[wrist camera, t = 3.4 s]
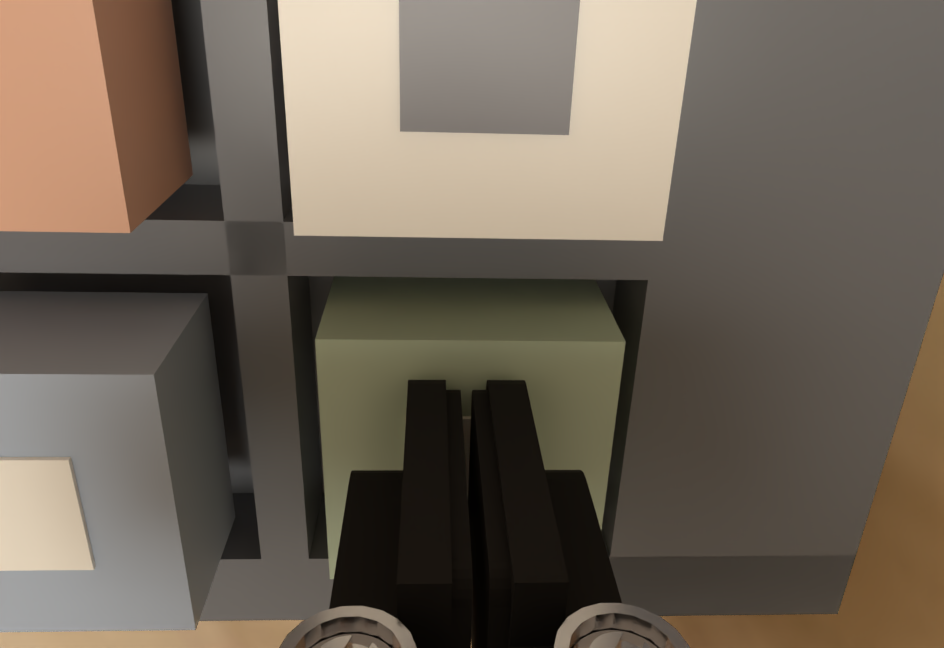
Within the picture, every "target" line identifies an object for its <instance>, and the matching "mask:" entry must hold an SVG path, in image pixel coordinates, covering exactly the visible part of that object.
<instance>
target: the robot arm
mask: <svg viewBox="0 0 944 648" xmlns="http://www.w3.org/2000/svg"><path fill="white" fill-rule="evenodd" d="M471 644H472V648H690V647H689V645H688V644H687V643H686V641H685V640H684V639H683V637H682V636H681V635H680V633H679V632H678V631H677V630H676V629H675V628H674V627H673V626H671V625H670V624H669V623H668V622H666V621H665V620H664V619H662V618H661V617H660V616H658V615H656V614H653V613H651V612H649V611H647V610H645V609H643V608H641V607H636V606H632V605H627V604H623V603H622V601H621V597H620V594H619V590H618V587H617V583H616V580H615V577H614V573H613V570H612V566H611V563H610V559H609V556H608V552H607V549H606V546H605V542H604V539H603V535H602V532H601V528H600V525H599V521H598V518H597V515H596V511H595V508H594V504H593V501H592V497H591V494H590V490H589V487H588V484H587V480H586V477H585V475H584V472H583V471H581V470H545V469H544V464H543V460H542V455H541V450H540V446H539V441H538V436H537V432H536V427H535V422H534V418H533V413H532V409H531V404H530V399H529V395H528V390H527V385H526V382H525V380H487V383H486V390H472V400H471V428H470V456H469V485H468V495H467V479H466V464H465V449H464V433H463V418H462V402H461V390H446V380H408V389H407V407H406V425H405V443H404V461H403V470H352V471H351V473H350V478H349V484H348V490H347V497H346V503H345V510H344V516H343V523H342V529H341V535H340V542H339V548H338V555H337V561H336V568H335V574H334V580H333V587H332V593H331V600H330V606H329V610H325V611H321V612H319V613H317V614H315V615H313V616H311V617H310V618H308V619H306V620H304V621H302V622H301V623H300V624H299V625H298V626H297V627H295V628H294V629H293V630H292V631H291V632H290V633H289V634H288V635H287V636H286V638H285V639H284V641H283V643H282V644H281V646H280V647H279V648H471Z"/></svg>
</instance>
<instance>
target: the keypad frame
mask: <svg viewBox="0 0 944 648" xmlns="http://www.w3.org/2000/svg"><path fill="white" fill-rule="evenodd" d="M171 2H172V10H173V19H174V27H175V35H176V43H177V51H178V59H179V67H180V75H181V83H182V91H183V99H184V107H185V115H186V123H187V131H188V139H189V147H190V155H191V163H192V172H193V175H192V176H191V177H190V178H189V179H188V180H187V181H186V182H185V183H184V184H183V185H182V186H181V187H179V188H178V189H177V190H176V191H175V192H174V193H173V194H172V195H171V196H170V197H169V198H168V199H167V200H166V201H164V202H163V203H162V204H161V205H160V206H159V207H158V208H157V209H156V210H155V211H154V212H153V213H152V214H150V215H149V216H148V217H147V218H146V219H145V220H144V221H143V222H142V223H141V224H140V225H139V226H138V227H136V228H135V229H134V230H133V231H132V232H131V233H90V232H22V231H0V291H43V292H136V293H208V300H209V308H210V316H211V325H212V333H213V341H214V349H215V357H216V365H217V373H218V381H219V389H220V397H221V405H222V413H223V421H224V429H225V437H226V445H227V453H228V461H229V469H230V478H231V486H232V494H233V502H234V510H235V519H234V522H233V525H232V528H231V531H230V533H229V536H228V539H227V542H226V545H225V548H224V551H223V553H222V556H221V559H220V562H219V565H218V568H217V571H216V573H215V576H214V579H213V582H212V585H211V588H210V590H209V593H208V596H207V599H206V602H205V605H204V608H203V610H202V613H201V616H200V619H199V621H234V620H306V619H308V618H310V617H311V616H313V615H315V614H317V613H319V612H321V611H325V610H329V606H330V600H331V593H332V587H333V580H334V579H330V573H329V557H328V541H327V525H326V509H325V492H324V476H323V460H322V444H321V428H320V412H319V395H318V379H317V363H316V347H315V338H316V335H317V331H318V328H319V325H320V322H321V318H322V315H323V312H324V308H325V305H326V302H327V299H328V295H329V292H330V289H331V286H332V282H333V279H334V276H345V277H428V278H512V279H595V280H596V282H597V284H598V286H599V288H600V290H601V293H602V295H603V297H604V299H605V301H606V303H607V305H608V307H609V309H610V311H611V313H612V315H613V317H614V319H615V321H616V323H617V325H618V327H619V329H620V331H621V333H622V335H623V337H624V339H625V341H626V343H625V351H624V359H623V366H622V374H621V382H620V390H619V397H618V405H617V413H616V421H615V429H614V436H613V444H612V452H611V460H610V467H609V475H608V483H607V491H606V498H605V506H604V514H603V522H602V530H601V532H602V535H603V539H604V542H605V546H606V549H607V552H608V556H609V559H610V563H611V566H612V570H613V573H614V577H615V580H616V583H617V587H618V590H619V594H620V597H621V601H622V603H623V604H627V605H632V606H636V607H641V608H643V609H645V610H647V611H649V612H651V613H653V614H656V615H658V616H690V615H782V614H838V611H839V608H840V605H841V601H842V598H843V595H844V592H845V588H846V585H847V582H848V579H849V576H850V572H851V569H852V566H853V563H854V560H855V556H856V553H857V550H858V547H859V543H860V540H861V537H862V534H863V531H864V527H865V524H866V521H867V518H868V514H869V511H870V508H871V505H872V502H873V498H874V495H875V492H876V489H877V485H878V482H879V479H880V476H881V473H882V469H883V466H884V463H885V460H886V456H887V453H888V450H889V447H890V444H891V440H892V437H893V434H894V431H895V427H896V424H897V421H898V418H899V415H900V411H901V408H902V405H903V402H904V399H905V395H906V392H907V389H908V386H909V382H910V379H911V376H912V373H913V370H914V366H915V363H916V360H917V357H918V353H919V350H920V347H921V344H922V341H923V337H924V334H925V331H926V328H927V324H928V321H929V318H930V315H931V312H932V308H933V305H934V302H935V299H936V295H937V292H938V289H939V286H940V283H941V279H942V276H943V273H944V0H697V3H696V10H695V17H694V24H693V31H692V38H691V45H690V52H689V59H688V66H687V73H686V80H685V87H684V94H683V101H682V108H681V115H680V122H679V129H678V136H677V143H676V150H675V157H674V164H673V171H672V178H671V185H670V192H669V199H668V206H667V213H666V220H665V227H664V234H663V241H635V240H567V239H499V238H431V237H362V236H294V227H293V212H292V198H291V184H290V170H289V155H288V141H287V127H286V113H285V98H284V84H283V70H282V56H281V41H280V27H279V13H278V0H171Z"/></svg>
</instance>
